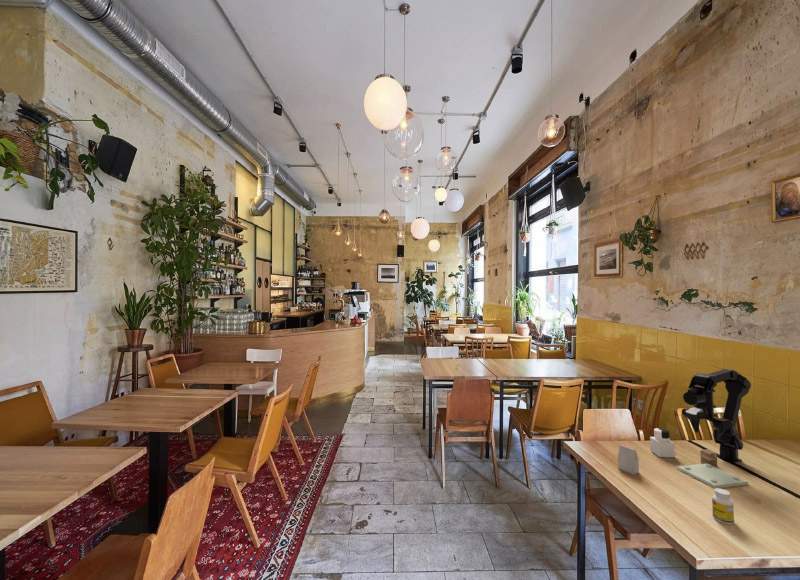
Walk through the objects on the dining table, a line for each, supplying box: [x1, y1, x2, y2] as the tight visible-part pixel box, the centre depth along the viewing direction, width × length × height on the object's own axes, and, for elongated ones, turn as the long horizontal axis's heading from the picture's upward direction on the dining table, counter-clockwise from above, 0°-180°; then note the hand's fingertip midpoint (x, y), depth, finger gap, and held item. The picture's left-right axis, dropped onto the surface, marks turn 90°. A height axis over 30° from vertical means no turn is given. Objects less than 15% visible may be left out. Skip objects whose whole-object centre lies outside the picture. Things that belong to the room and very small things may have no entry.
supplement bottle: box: [711, 488, 735, 525], centre depth 119 cm, size 5×5×10 cm
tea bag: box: [617, 444, 640, 476], centre depth 154 cm, size 4×7×10 cm, turn 29°
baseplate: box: [676, 463, 749, 489], centre depth 148 cm, size 16×16×2 cm
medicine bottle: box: [649, 427, 676, 458], centre depth 170 cm, size 7×7×12 cm
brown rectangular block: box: [700, 448, 718, 468], centre depth 158 cm, size 4×4×6 cm
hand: (706, 436), depth 159 cm, fingers open, 9 cm apart
